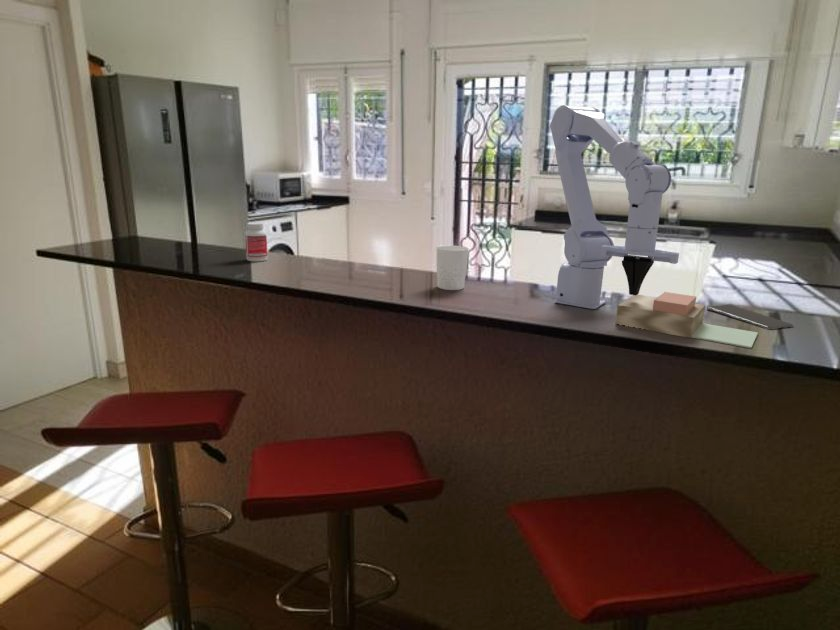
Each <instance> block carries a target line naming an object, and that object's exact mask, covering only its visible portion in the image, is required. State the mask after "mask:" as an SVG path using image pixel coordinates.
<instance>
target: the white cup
mask: <svg viewBox="0 0 840 630" xmlns="http://www.w3.org/2000/svg"><path fill="white" fill-rule="evenodd" d="M435 250H436V251H435V252H436V277H437V280H436V281H437V285H436V286H437V288H438V289H440V290H445V291H447V290H448V291H460V290H463V289H465V281H466V276H467V275H466V274H467V267H468V258H469V248H468V247H466V246H462V245H439V246H436V249H435Z"/></svg>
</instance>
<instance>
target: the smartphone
mask: <svg viewBox="0 0 840 630" xmlns="http://www.w3.org/2000/svg"><path fill="white" fill-rule="evenodd" d="M706 309H707V310H708V312H709V311H710V312H712V313H716V314H718V315H722V316H724V317H727V318H730V319H734V320H737V321H740V322H743V323H746V324H749V325H753V326H756V327H759V328H762V329H765V328H766V330H769V329H773V330H778V329H777V328H781V329H788V328H787V327H791V328H794V324H792V323H790V322H787V321H784V320H781V319H779V318H778V319H777V318H775V317H772V316H771V317H770V316H768V315H765V314H761V313H759V312H755V311H752V310H748V309H746V308H743V307H740V306H736V305H733V304H718V305H710V306H707V307H706ZM782 327H783V328H782Z"/></svg>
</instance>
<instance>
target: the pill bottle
mask: <svg viewBox="0 0 840 630" xmlns="http://www.w3.org/2000/svg"><path fill="white" fill-rule="evenodd" d="M264 227H265V225H264V222H247V224H246V228H247V230H246V231H245V234H244V240H245V257H246V260H247V261H249V262H252V263H253V262H255V263H256V262H258V263H259V262H265V261H267V260H268V239H267V236H268V235H267V232H266V231H265V230H264Z"/></svg>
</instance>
